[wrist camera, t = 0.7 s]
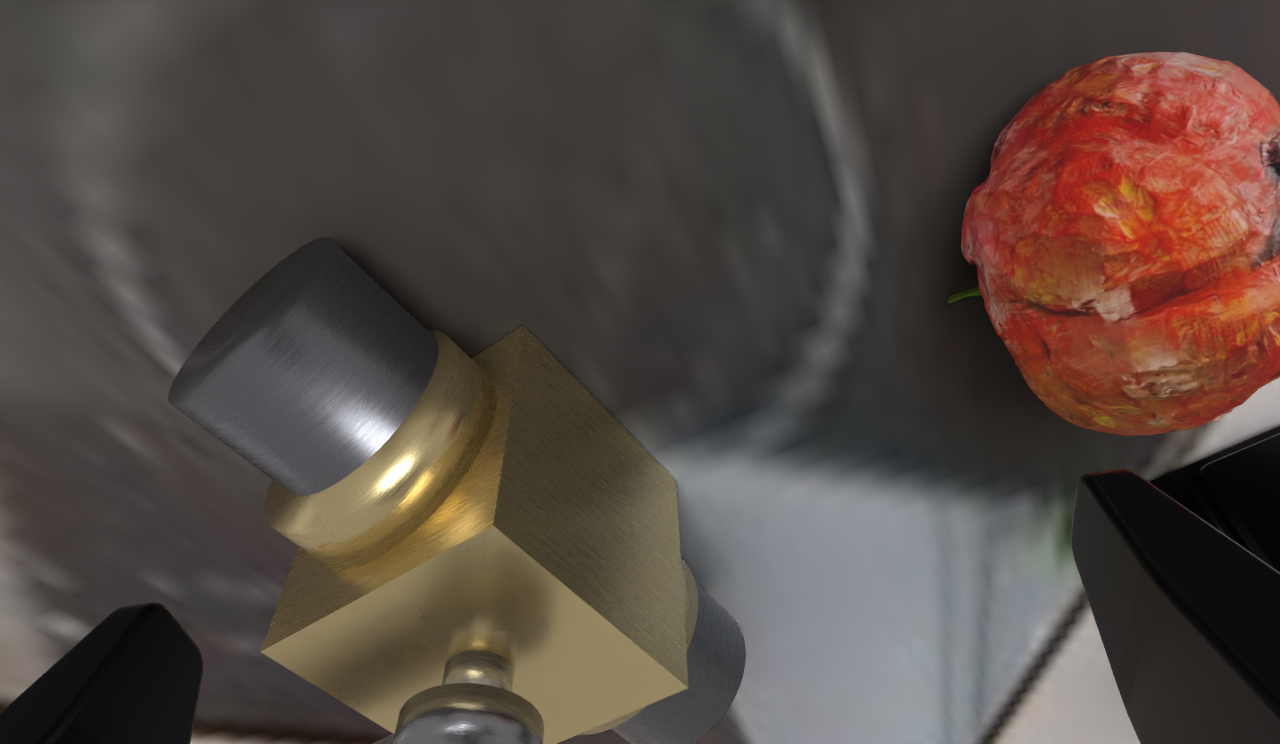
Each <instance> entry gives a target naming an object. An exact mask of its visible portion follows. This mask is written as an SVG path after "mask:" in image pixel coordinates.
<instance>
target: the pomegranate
mask: <svg viewBox="0 0 1280 744" xmlns="http://www.w3.org/2000/svg"><path fill="white" fill-rule="evenodd" d="M990 163H991V170H990V174H989V176H988V177H987V178H986V180H985V181H984V182H983V183H982V184H980V185H979V186H978V187H977V188H975V189H974V190H973V192H972V194H971V196H970V197H969V199H968V201H967V204H966V207H965V211H964V218H963V224H962V234H961V249H962V252H963V255H964V258H965V259H966V260H967V261H968V263H969V264H970V265H976V268H977V275H978V283H979V286H977V287H974V288H971V289H968V290H965V291H962V292H959V293H956V294H953V295H950V296H949V298H948V303H952V302H955V301H957V300H960V299H962V298H965V297H969V296H977V295H982V296H983V299H984V301H985V309H986V311H987V314H988V316H989V318H990V320H991V322H992V324H993V326H994V329H995V331H996V333H997V335H998V336H999V337H1000V338H1001V339H1002V341H1003V342H1004V344H1005V346H1006V347H1007V349H1008V350H1009V352H1010V353H1011V355H1012V357H1013V358H1014V360H1015V362H1016V363H1015V365H1016V366H1017V367H1018V368H1019V369H1020V371H1021V373H1022V375H1023V378H1024V379H1025V381H1026V383H1027V384H1028V386H1029V387H1030V389H1031V390H1032V391H1033V392H1034V394H1035V395H1036V396H1037V397H1038V398H1039V399H1040V400H1042V401H1043V402H1044V403H1045V405H1046V406H1047V407H1048V408H1049V409H1050V410H1051V411H1052V412H1054V413H1055V414H1057V415H1059V416H1060V417H1061V418H1063V419H1064V420H1066V421H1068V422H1070V423H1073V424H1075V425H1077V426H1079V427H1083V428H1087V429H1091V430H1095V431H1099V432H1105V433H1112V434H1118V435H1125V436H1130V435H1154V434H1160V433H1166V432H1172V431H1176V430H1184V431H1185V430H1188V429H1192V428H1195V427H1199V426H1201V425H1203V424H1205V423H1208V422H1210V421H1219V419H1220V418H1221V417H1222V416H1224V415H1225V414H1226V413H1229V412H1231V411H1232V410H1233V409H1234V407H1237V406H1239V405H1241V404H1243V403H1244V402H1245V401H1246V400H1247V399H1248V398H1249V397H1250V396H1251V395H1252V394H1253V393H1255V392H1256V391H1257V390H1258V389H1259V388H1260V387H1262V386H1264V385H1266V384H1267V383H1269V382H1271V381H1273V380H1275V379H1277V378H1279V377H1280V105H1279V104H1278V103H1277V101H1276V100H1275V98H1274V97H1273V95H1272V94H1271V93H1270V91H1269V90H1268V89H1266V88H1265V87H1264V86H1262V85H1261V84H1260V83H1259V82H1257V81H1256V80H1255V79H1254V78H1252V77H1251V76H1250V75H1249V74H1247V73H1246V72H1245V71H1244V70H1242V69H1241V68H1240V67H1238V66H1236V65H1235V64H1233V63H1231V62H1229V61H1219V60H1215V59H1211V58H1207V57H1203V56H1199V55H1194V54H1190V53H1185V52H1147V53H1136V54H1127V55H1121V56H1110V57H1103V58H1101V59H1099V60H1097V61H1095V62H1091V63H1088V64H1085V65H1082V66H1079V67H1076V68H1073V69H1070V70H1069V71H1068V72H1066V73H1065V74H1064V75H1062V76H1061V77H1060V78H1058V79H1057V80H1056V81H1054V82H1052V83H1050V84H1048V85H1046V86H1045V87H1043V88H1042V89H1041V90H1039V91H1038V92H1037V93H1035V94H1034V95H1033V96H1032V97H1031V98H1030V99H1029V100H1028V101H1027V102H1026V103H1025V104H1024V105H1023V106H1022V108H1021V109H1020V110H1019V111H1018V112H1017V113H1016V114H1015V116H1014V117H1013V118H1012V119H1011V121H1010V122H1009V123H1008V124H1007V126H1006V127H1005V128H1004V129H1003V130H1002V131H1001V132H1000V133H999V135H998V138H997V141H996V142H995V144H994V149H993V151H992V155H991V159H990Z"/></svg>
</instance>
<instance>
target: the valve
mask: <svg viewBox="0 0 1280 744" xmlns="http://www.w3.org/2000/svg"><path fill="white" fill-rule="evenodd" d="M168 399H169V402H170V404H171V405H173V406H174V407H176V408H177V409H178V410H180V411H181V412H182V413H184V414H185V415H186V416H188V417H189V418H190V419H192V420H193V421H195V422H196V423H197V424H199V425H200V426H201V427H203V428H204V429H205V430H207V431H208V432H209V433H211V434H212V435H213V436H215V437H216V438H218V439H219V440H220V441H222V442H223V443H224V444H226V445H227V446H228V447H230V448H231V449H232V450H234V451H235V452H237V453H238V454H239V455H241V456H242V457H243V458H245V459H246V460H247V461H249V462H250V463H251V464H253V465H254V466H255V467H257V468H258V469H260V470H261V471H262V472H264V473H265V474H266V475H268V476H269V477H270V478H272V481H271V484H270V487H269V490H268V493H267V497H266V503H265V516H266V519H267V522H268V523H269V525H270V526H271V527H272V528H274V529H275V530H276V531H278V532H279V533H281V534H282V535H284V536H285V537H286V538H288V539H289V540H291V541H292V542H293V543H295V544H296V545H298V546H299V548H298V550H297V553H296V556H295V559H294V561H293V564H292V567H291V570H290V572H289V575H288V578H287V580H286V583H285V586H284V589H283V591H282V594H281V597H280V600H279V602H278V605H277V608H276V611H275V613H274V616H273V619H272V622H271V624H270V627H269V630H268V633H267V635H266V638H265V641H264V644H263V646H262V649H261V653H263V654H265V655H266V656H268V657H270V658H271V659H273V660H274V661H276V662H278V663H279V664H281V665H283V666H284V667H286V668H287V669H289V670H291V671H292V672H294V673H296V674H297V675H299V676H300V677H302V678H304V679H305V680H307V681H309V682H310V683H312V684H313V685H315V686H317V687H318V688H320V689H322V690H323V691H325V692H326V693H328V694H330V695H331V696H333V697H335V698H336V699H338V700H339V701H341V702H343V703H344V704H346V705H348V706H349V707H351V708H353V709H354V710H356V711H357V712H359V713H361V714H362V715H364V716H366V717H367V718H369V719H370V720H372V721H374V722H375V723H377V724H379V725H380V726H382V727H383V728H385V729H387V730H388V731H390V732H392V733H393V734H394V733H395V730H396V725H397V720H398V716H399V712H400V710H401V708H402V706H403V705H404V704H405V703H406V702H407V700H408V699H410V698H411V697H412V696H414V695H416V694H417V693H419V692H421V691H423V690H426V689H428V688H432V687H435V686H439V685H445V684H453V683H477V684H485V685H490V686H495V687H499V688H502V689H505V690H508V691H511V692H513V693H515V694H517V695H519V696H521V697H523V698H524V699H526V700H527V701H529V702H530V703H531V704H532V705H533V706H534V707H535V708H536V709H537V710H538V711H539V713H540V714H541V716H542V719H543V722H544V737H543V744H557V743H559V742H562V741H564V740H566V739H569V738H571V737H573V736H576V735H590V734H595V733H600V732H603V731H606V730H609V729H612V730H613V731H614V732H616V733H617V734H619V735H620V736H621V737H623V738H624V739H625V740H627V741H628V742H629V743H631V744H692V743H694V742H695V741H697V740H699V739H700V738H701V737H703V736H704V735H705V734H706V733H708V732H709V731H710V730H711V729H712V728H713V727H714V726H715V725H716V724H717V723H718V722H719V720H720V719H721V718H722V717H723V716H724V714H725V713H726V711H727V710H728V708H729V707H730V705H731V703H732V701H733V700H734V698H735V696H736V694H737V691H738V689H739V686H740V683H741V680H742V677H743V672H744V667H745V657H746V654H745V643H744V638H743V635H742V632H741V629H740V627H739V626H738V624H737V622H736V621H735V620H734V618H733V617H732V616H731V615H730V614H729V613H728V612H726V611H725V610H724V609H723V608H722V607H721V606H720V605H719V604H718V603H717V602H716V601H715V600H714V599H713V598H712V597H711V596H709V595H708V594H707V593H706V592H705V591H704V590H703V589H702V588H701V587H700V586H699V585H698V584H697V583H696V582H695V579H694V576H693V574H692V572H691V570H690V568H689V566H688V565H687V564H686V563H685V561H684V560H683V559H682V558H681V553H680V536H679V519H678V502H677V485H676V480H675V479H674V478H673V477H672V476H671V475H670V474H669V473H668V472H667V471H666V470H665V469H664V468H663V467H662V466H661V465H660V464H659V463H658V462H657V461H656V460H655V459H654V458H653V457H652V456H651V455H650V454H649V453H648V452H647V450H646V449H645V448H644V447H643V446H642V445H641V444H640V443H639V442H638V441H637V440H636V439H635V438H634V437H633V436H632V435H631V434H630V433H629V432H628V431H627V430H626V429H625V428H624V427H623V426H622V425H621V424H620V423H619V422H618V421H617V420H616V419H615V418H614V417H613V416H612V415H611V414H610V413H609V412H608V411H607V410H606V409H605V408H604V407H603V406H602V405H601V404H600V403H599V402H598V401H597V400H596V399H595V397H594V396H593V395H592V394H591V393H590V392H589V391H588V390H587V389H586V388H585V387H584V386H583V385H582V384H581V383H580V382H579V381H578V380H577V379H576V378H575V377H574V376H573V375H572V374H571V373H570V372H569V371H568V370H567V369H566V368H565V367H564V366H563V365H562V364H561V363H560V362H559V361H558V360H557V359H556V358H555V357H554V356H553V355H552V354H551V353H550V352H549V351H548V350H547V349H546V348H545V347H544V346H543V344H542V343H541V342H540V341H539V340H538V339H537V338H536V337H535V336H534V335H533V334H532V333H531V332H530V331H529V330H528V329H527V328H526V327H525V326H524V325H523V326H522V327H520V328H519V329H517V330H515V331H514V332H512V333H511V334H509V335H507V336H506V337H504V338H503V339H501V340H500V341H498V342H496V343H495V344H493V345H492V346H490V347H489V348H487V349H485V350H484V351H482V352H481V353H479V354H478V355H476V356H474V357H473V358H470V357H469V356H468V355H467V354H466V353H465V352H464V351H463V350H462V349H461V348H460V347H459V346H458V345H456V344H455V343H454V342H453V341H452V340H451V339H450V338H449V337H448V336H447V335H446V334H444V333H443V332H441V331H438V330H426V329H425V328H424V327H423V326H422V325H421V324H420V323H419V322H418V321H417V320H416V319H415V318H414V317H413V316H412V315H410V314H409V313H408V312H407V311H406V310H405V309H404V308H403V307H402V306H401V305H400V304H399V303H398V302H397V301H396V300H395V299H393V298H392V297H391V296H390V295H389V294H388V293H387V292H386V291H385V290H384V289H383V288H382V287H381V286H380V285H379V284H378V283H376V282H375V281H374V280H373V279H372V278H371V277H370V276H369V275H368V274H367V273H366V272H365V271H364V270H363V269H362V268H360V267H359V266H358V265H357V264H356V263H355V262H354V261H353V260H352V259H351V258H350V257H349V256H348V255H347V254H346V253H345V252H343V251H342V250H341V249H340V248H339V247H338V246H337V245H336V244H335V243H334V242H333V241H332V240H331V239H329V238H320V239H317V240H315V241H312V242H310V243H308V244H306V245H305V246H303V247H301V248H300V249H298V250H297V251H295V252H294V253H292V254H291V255H289V256H288V257H286V258H285V259H284V260H282V261H281V262H280V263H279V264H277V265H276V266H275V267H273V268H272V269H271V270H270V271H269V272H268V273H266V274H265V275H264V276H263V277H262V278H261V279H259V280H258V281H257V282H256V283H255V284H254V285H253V286H252V287H251V288H250V289H249V290H247V291H246V292H245V293H244V294H243V295H242V296H241V297H240V298H239V299H238V300H237V301H236V302H235V303H234V304H233V305H232V306H231V307H230V308H229V309H228V310H227V311H226V313H225V314H224V315H223V316H222V317H221V318H220V319H219V320H218V321H217V322H216V323H215V325H214V326H213V327H212V328H211V329H210V330H209V331H208V333H207V334H206V335H205V336H204V338H203V339H202V340H201V341H200V342H199V344H198V345H197V346H196V348H195V349H194V350H193V351H192V353H191V354H190V356H189V357H188V358H187V360H186V361H185V363H184V364H183V366H182V367H181V369H180V371H179V372H178V374H177V376H176V377H175V379H174V381H173V384H172V386H171V388H170V391H169V396H168Z"/></svg>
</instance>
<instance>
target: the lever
mask: <svg viewBox="0 0 1280 744" xmlns="http://www.w3.org/2000/svg"><path fill="white" fill-rule="evenodd" d="M543 737H544V722H543V719H542V716H541V714H540V713H539V711H538V710H537V709H536V708H535V707H534V706H533V705H532V704H531V703H530V702H529V701H527V700H526V699H524V698H523V697H521V696H519V695H517V694H515V693H513V692H511V691H508V690H505V689H502V688H499V687H495V686H490V685H485V684H477V683H453V684H445V685H439V686H435V687H432V688H428V689H426V690H423V691H421V692H419V693H417V694H416V695H414V696H412V697H411V698H410V699H408V700H407V702H406V703H405V704H404V705H403V706H402V708H401V710H400V712H399V716H398V720H397V725H396V730H395V733H394V734H392V735H390V736H387V737H385V738H383V739H381V740H379V741H377V742H374V743H372V744H543Z"/></svg>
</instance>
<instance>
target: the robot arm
mask: <svg viewBox="0 0 1280 744" xmlns="http://www.w3.org/2000/svg"><path fill="white" fill-rule="evenodd" d="M1071 544H1072V551H1073V555H1074V559H1075V562H1076V565H1077V568H1078V571H1079V574H1080V577H1081V580H1082V583H1083V586H1084V589H1085V592H1086V595H1087V598H1088V601H1089V604H1090V607H1091V609H1092V612H1093V615H1094V618H1095V621H1096V624H1097V627H1098V630H1099V633H1100V636H1101V639H1102V642H1103V645H1104V648H1105V651H1106V654H1107V657H1108V659H1109V662H1110V665H1111V668H1112V671H1113V674H1114V677H1115V680H1116V683H1117V686H1118V689H1119V692H1120V694H1121V697H1122V700H1123V703H1124V705H1125V708H1126V711H1127V714H1128V716H1129V718H1130V720H1131V723H1132V725H1133V727H1134V730H1135V732H1136V734H1137V736H1138V739H1139V741H1140V743H1141V744H1280V427H1278V428H1276V429H1274V430H1271V431H1269V432H1267V433H1264V434H1262V435H1260V436H1257V437H1255V438H1252V439H1250V440H1248V441H1245V442H1243V443H1241V444H1238V445H1236V446H1234V447H1231V448H1229V449H1227V450H1224V451H1222V452H1220V453H1217V454H1215V455H1213V456H1210V457H1208V458H1205V459H1203V460H1201V461H1198V462H1196V463H1194V464H1191V465H1189V466H1187V467H1184V468H1182V469H1180V470H1177V471H1175V472H1173V473H1170V474H1168V475H1166V476H1163V477H1161V478H1158V479H1156V480H1154V481H1151V482H1148V481H1146V480H1145V479H1144V478H1142V477H1141V476H1139V475H1138V474H1136V473H1134V472H1132V471H1129V470H1126V469H1117V470H1110V471H1103V472H1096V473H1088V474H1085V475H1083V476H1082V477H1081V478H1080V479H1079V481H1078V484H1077V489H1076V497H1075V506H1074V514H1073V523H1072V531H1071ZM202 675H203V659H202V654H201V652H200V649H199V648H198V646H197V645H196V643H195V642H194V641H193V640H192V638H191V637H190V636H189V635H188V633H187V632H186V631H185V630H184V628H183V627H182V626H181V625H180V623H179V622H178V621H177V619H176V618H175V617H174V616H173V614H172V613H171V612H170V611H169V610H168V609H167V608H166V607H165V606H164V605H161V604H159V603H146V604H139V605H132V606H125V607H122V608H119V609H117V610H115V611H114V612H113V613H111V614H110V615H109V616H108V617H107V618H106V619H104V620H103V621H102V622H101V623H100V624H99V625H98V626H97V627H96V628H94V629H93V630H92V631H91V632H90V633H89V634H88V635H87V636H86V637H84V638H83V639H82V640H81V641H80V642H79V643H78V644H77V645H76V646H74V647H73V648H72V649H71V650H70V651H69V652H68V653H67V654H66V655H64V656H63V657H62V658H61V659H60V660H59V661H58V662H57V663H56V664H54V665H53V666H52V667H51V668H50V669H49V670H48V671H47V672H46V673H44V674H43V675H42V676H41V677H40V678H39V679H38V680H37V681H35V682H34V683H33V684H32V685H31V686H30V687H29V688H28V689H27V690H25V691H24V692H23V693H22V694H21V695H20V696H19V697H18V698H17V699H15V700H14V701H13V702H12V703H11V704H10V705H9V706H8V707H7V708H5V709H4V710H3V711H2V712H1V713H0V744H190V741H191V735H192V730H193V725H194V719H195V714H196V708H197V703H198V697H199V692H200V686H201V681H202Z"/></svg>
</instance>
